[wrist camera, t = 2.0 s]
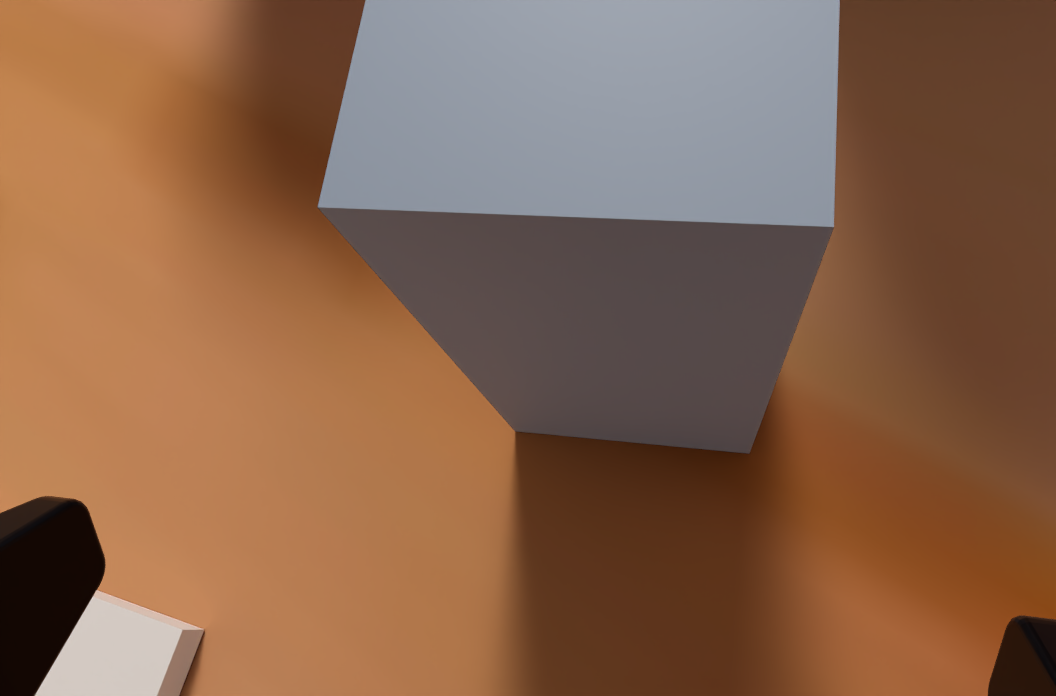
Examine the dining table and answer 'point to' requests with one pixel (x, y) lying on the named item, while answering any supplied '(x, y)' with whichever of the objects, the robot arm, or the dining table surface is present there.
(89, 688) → the white rectangular slab
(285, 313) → the dining table surface
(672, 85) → the tea box
